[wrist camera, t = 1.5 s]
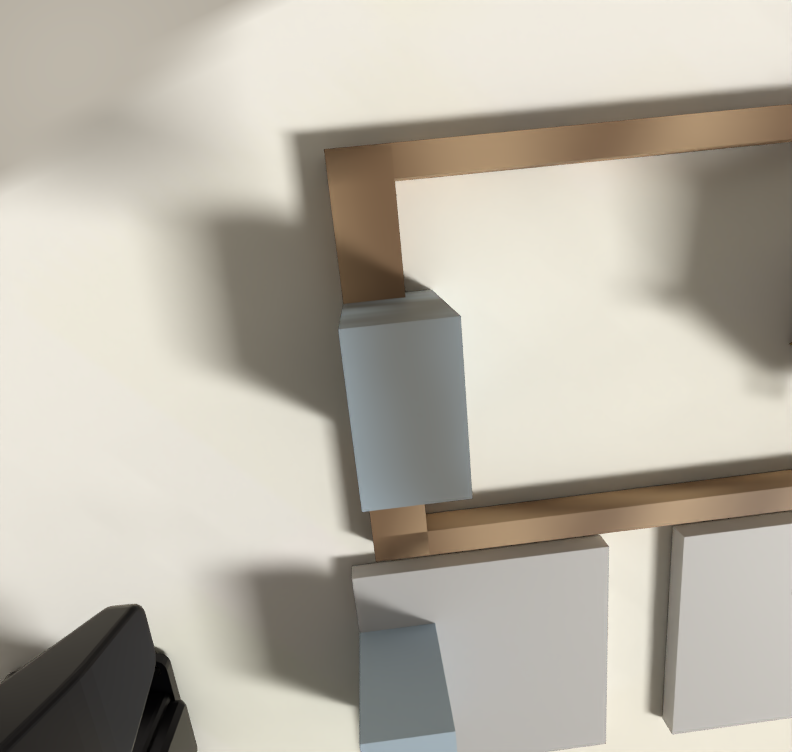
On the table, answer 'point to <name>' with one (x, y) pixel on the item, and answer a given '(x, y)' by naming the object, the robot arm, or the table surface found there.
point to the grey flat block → (568, 640)
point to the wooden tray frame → (443, 351)
